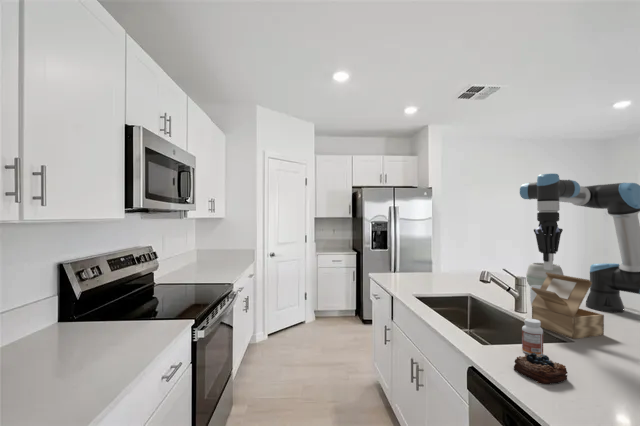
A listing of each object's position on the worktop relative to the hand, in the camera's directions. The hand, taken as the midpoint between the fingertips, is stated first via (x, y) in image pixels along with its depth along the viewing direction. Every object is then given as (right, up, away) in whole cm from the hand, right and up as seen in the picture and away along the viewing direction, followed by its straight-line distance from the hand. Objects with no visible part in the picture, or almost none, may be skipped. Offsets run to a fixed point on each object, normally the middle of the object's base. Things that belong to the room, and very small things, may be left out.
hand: (548, 269), depth 137 cm
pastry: (-28, -25, -37) cm, 53 cm away
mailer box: (+9, -25, +2) cm, 27 cm away
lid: (+6, -11, +2) cm, 13 cm away
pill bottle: (-20, -25, -22) cm, 39 cm away
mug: (+14, -26, +24) cm, 38 cm away
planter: (+22, -26, +36) cm, 49 cm away
